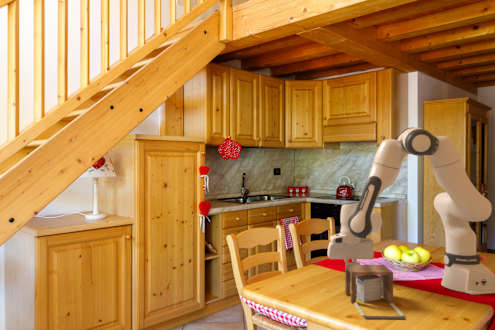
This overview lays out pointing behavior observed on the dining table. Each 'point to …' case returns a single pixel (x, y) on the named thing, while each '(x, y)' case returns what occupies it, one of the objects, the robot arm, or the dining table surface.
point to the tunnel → (369, 270)
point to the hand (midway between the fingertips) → (350, 268)
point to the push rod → (350, 273)
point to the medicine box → (368, 288)
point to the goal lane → (390, 304)
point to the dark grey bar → (384, 317)
